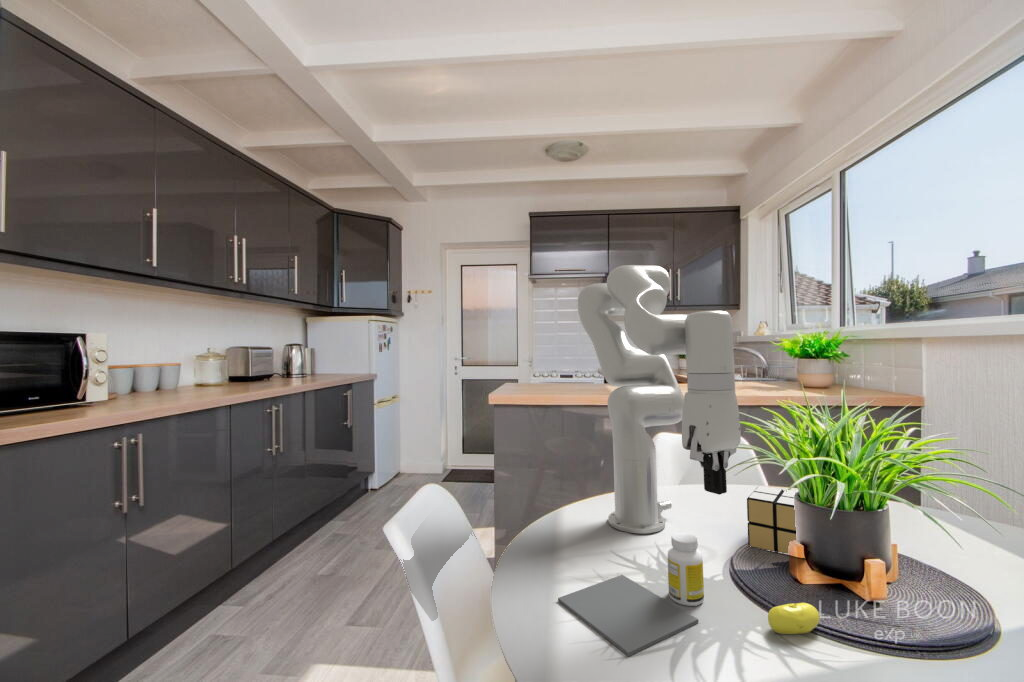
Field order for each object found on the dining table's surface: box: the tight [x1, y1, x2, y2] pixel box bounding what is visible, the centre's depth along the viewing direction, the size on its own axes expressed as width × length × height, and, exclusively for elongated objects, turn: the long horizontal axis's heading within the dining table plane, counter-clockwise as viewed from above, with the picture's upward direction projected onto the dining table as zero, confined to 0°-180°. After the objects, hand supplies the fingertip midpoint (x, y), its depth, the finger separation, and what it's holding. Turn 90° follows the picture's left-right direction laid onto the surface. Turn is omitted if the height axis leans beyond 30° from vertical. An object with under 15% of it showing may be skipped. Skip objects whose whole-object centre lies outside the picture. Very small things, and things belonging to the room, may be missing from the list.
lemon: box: [767, 602, 821, 635], centre depth 67 cm, size 4×8×4 cm, turn 98°
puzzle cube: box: [746, 485, 797, 553], centre depth 95 cm, size 10×10×10 cm
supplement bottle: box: [667, 532, 705, 607], centre depth 76 cm, size 5×5×10 cm
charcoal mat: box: [557, 574, 699, 657], centre depth 73 cm, size 14×16×1 cm
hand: (715, 491), depth 79 cm, fingers closed
